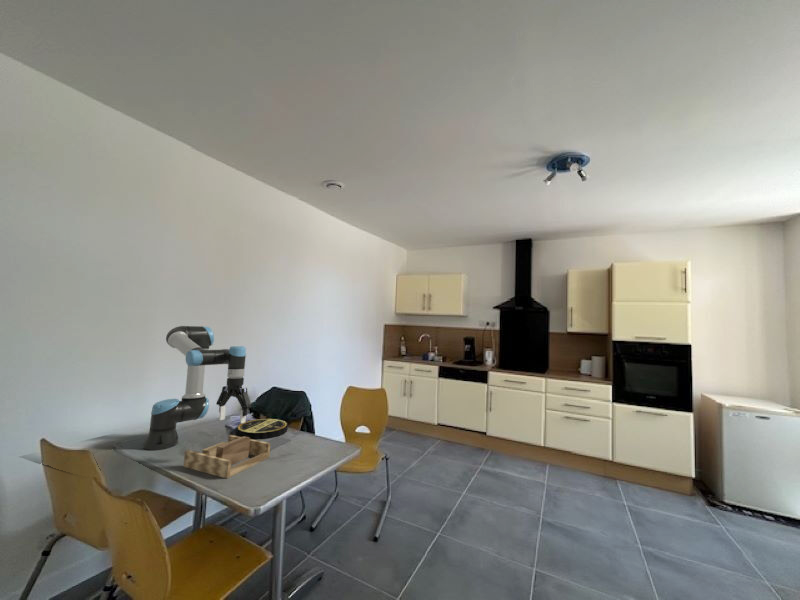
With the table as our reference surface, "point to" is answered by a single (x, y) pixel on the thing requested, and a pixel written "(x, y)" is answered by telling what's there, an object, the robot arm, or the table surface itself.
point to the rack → (223, 465)
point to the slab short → (212, 449)
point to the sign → (262, 428)
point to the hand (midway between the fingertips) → (232, 421)
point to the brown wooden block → (234, 450)
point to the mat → (277, 442)
